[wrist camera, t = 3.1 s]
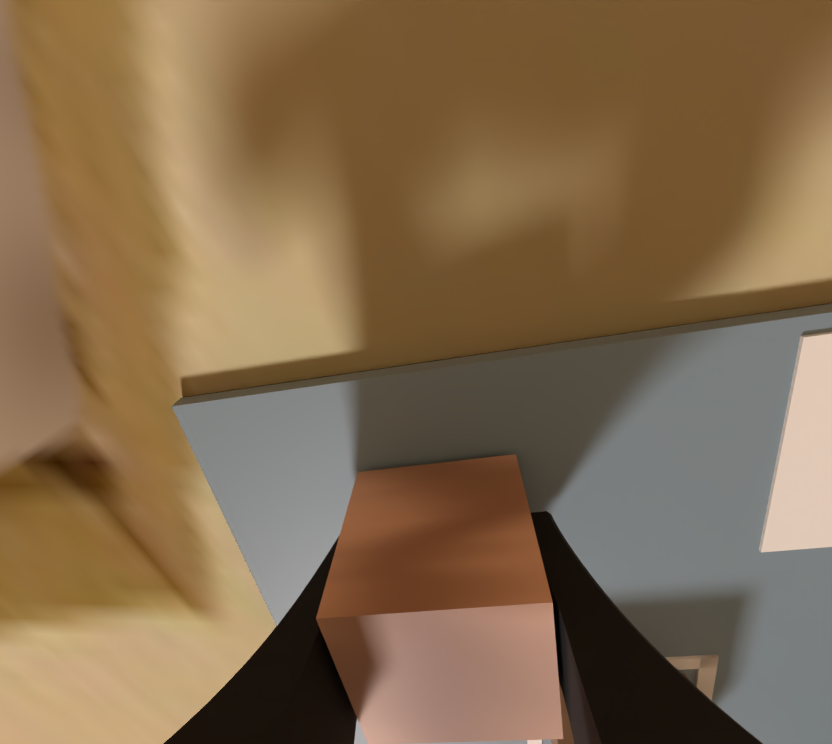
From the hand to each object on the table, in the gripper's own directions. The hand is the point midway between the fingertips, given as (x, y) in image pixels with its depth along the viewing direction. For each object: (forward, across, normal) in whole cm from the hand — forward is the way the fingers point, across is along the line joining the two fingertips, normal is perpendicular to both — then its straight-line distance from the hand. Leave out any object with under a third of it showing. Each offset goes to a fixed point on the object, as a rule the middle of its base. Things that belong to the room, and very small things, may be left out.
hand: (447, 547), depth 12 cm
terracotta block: (+1, 0, 0) cm, 1 cm away
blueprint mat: (+2, -4, +5) cm, 7 cm away
